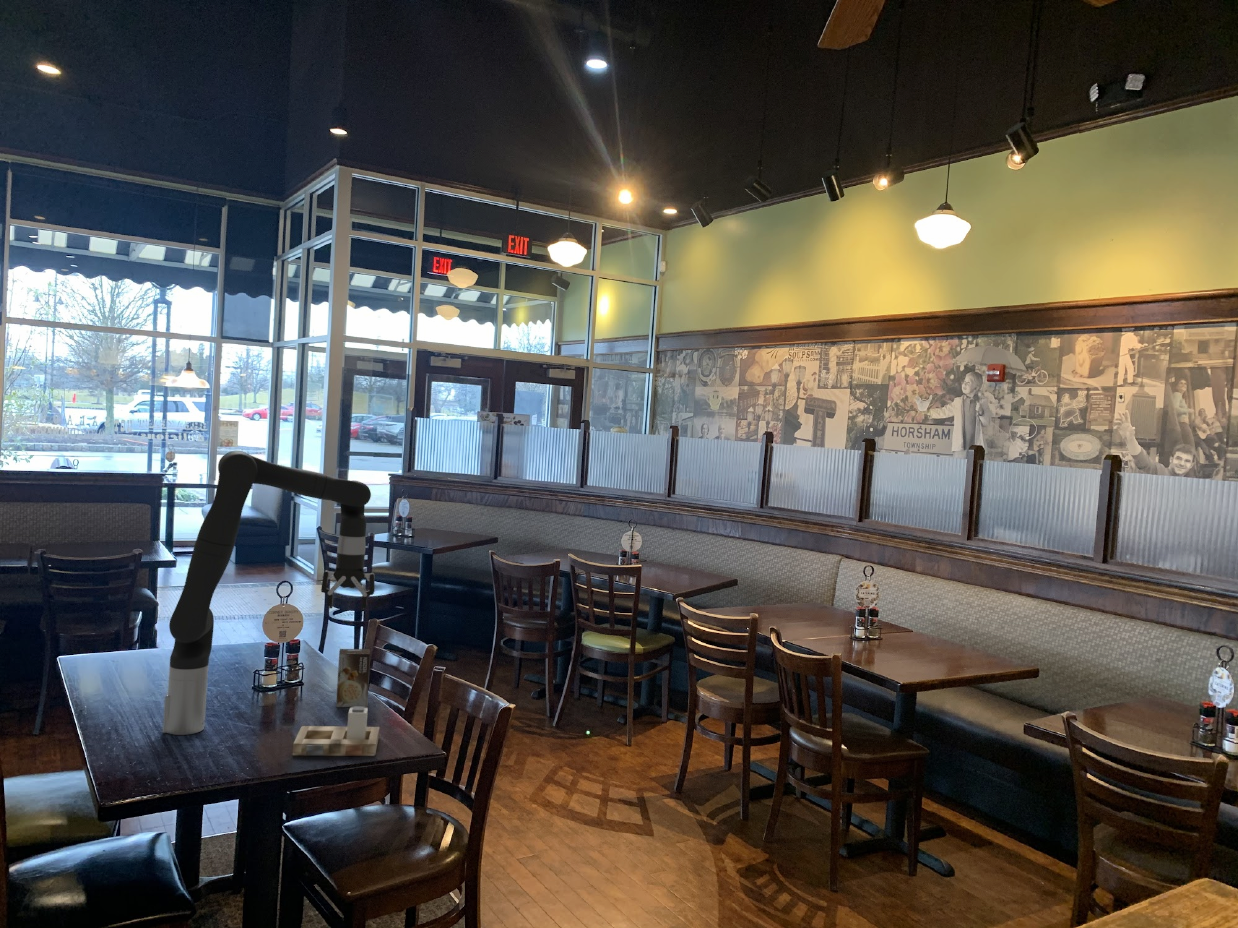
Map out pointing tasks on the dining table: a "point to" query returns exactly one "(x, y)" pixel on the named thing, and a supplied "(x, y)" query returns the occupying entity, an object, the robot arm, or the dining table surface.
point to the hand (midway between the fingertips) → (346, 608)
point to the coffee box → (353, 677)
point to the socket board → (334, 742)
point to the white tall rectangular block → (357, 723)
